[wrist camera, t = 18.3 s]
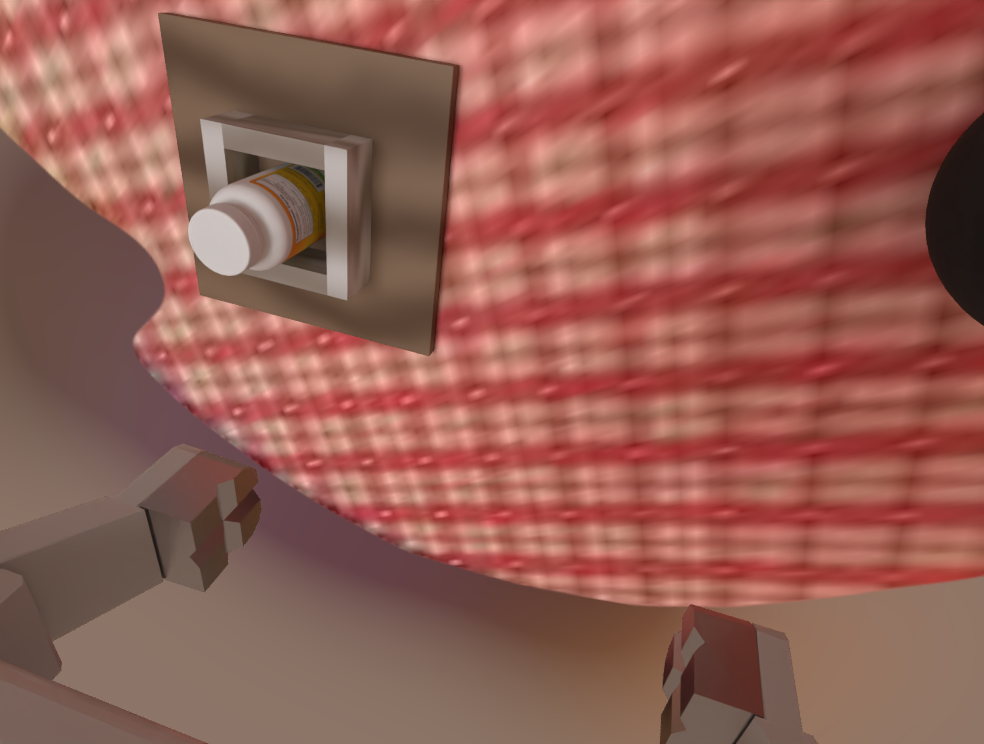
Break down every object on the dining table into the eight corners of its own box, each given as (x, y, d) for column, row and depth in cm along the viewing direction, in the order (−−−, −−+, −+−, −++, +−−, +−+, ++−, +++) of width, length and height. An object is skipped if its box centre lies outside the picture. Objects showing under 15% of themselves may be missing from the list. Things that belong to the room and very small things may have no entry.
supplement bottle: (284, 236, 45) (194, 286, 37) (264, 159, 42) (163, 196, 34) (350, 236, 43) (271, 289, 35) (334, 157, 40) (245, 195, 32)
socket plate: (169, 12, 40) (114, 13, 36) (458, 65, 36) (432, 72, 33) (208, 290, 50) (169, 312, 47) (433, 350, 47) (411, 379, 43)
